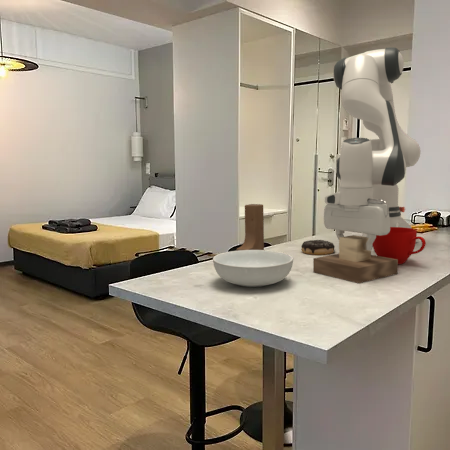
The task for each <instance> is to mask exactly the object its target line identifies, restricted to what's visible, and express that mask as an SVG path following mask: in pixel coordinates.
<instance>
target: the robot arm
mask: <svg viewBox="0 0 450 450" xmlns="http://www.w3.org/2000/svg"><path fill="white" fill-rule="evenodd" d="M404 67H405V63H404V56H403V55H402V53H401V51H400V49H398V48H397V47H393V46H391V47H385V48H380V49H373V50H367V51H365V52H362V53H358V54H355V55H352V56H349V57H344V58H341V59H339V60H337V62H336V63H335V64H334V65H333V73H332V75H333V77H332V78H333V81H334V83H335V87H337V88H338V89H339V90H341V103H342V107H343V110H344V111H346V113H347V114H349V115H350V116H351V117H353V118H355V119H357V120H361V121H362V124H363V127H364V128H365V129H366V130H368V131H370V132H372V133H374V134H375V135H376V136H377V137H378V138H375V139H369V138H367V137H352V138H347V139H345V140H343V141H342V142H341V147H340V152H339V153H340V154H339V157H338V158H337V159H336V174H335V175H336V178H337V179H339V180H340V182H339V186H338V191H336V192H334V193H332V194H329V195H326V196H325V197H324V204H326V205H324V210H323V225H324V227H325V228H326V229H328V230H334V231H335V235H336V237H337V239H338V240H339V237H345V236H344V234H345V232H351V233H357V234H362V236H363V237H367V238H368V241H367V243H364V245H363V246H364V248H363V249H364V250H368V251H370V250H371V251H372V250H373V245H372V244H373V242H374V240H375V239H376V235H380V236H381V235H387V234H388V233H389V232H390V227H403V228H411V229H413V228H412V226H411V224H409V223H408V221H406V220H405V219H404V218H403V217H402V214H401V213H405V211H406V207H405V206H399V186H398V183H400V182H402V180H403V179H404V178H405V177H406V176H405V175H406V173H407V168H410V167H413V166H415V165H416V164H417V163H418V161H419V159H420V157H421V147H420V144H419V143H418V141H417V140H416V139H414V138H412V137H410V136H409V135H408V134H407V133H406V132H405V131H404V130H403V128H402V127H401V126H400V124H399V122H398V120H397V115H396V110H395V103H394V96H393V95H394V94H393V89H392V85H393V84H394V82H395V81H396V80H399V78H400V77H401V76H402V75H403V71H404ZM391 84H392V85H391ZM419 241H420V239H416V243H419Z"/></svg>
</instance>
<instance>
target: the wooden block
mask: <svg viewBox="0 0 450 450" xmlns="http://www.w3.org/2000/svg"><path fill="white" fill-rule="evenodd" d="M264 218H265V217H264V204H260V203H257V204H256V203H251V204H245V205H244V232H245V233H244V241H243V243H242V244H241V246H239V247H237V248H236V251H240V250H265V238H264V237H265V235H264V233H265V232H264V230H265V229H264Z"/></svg>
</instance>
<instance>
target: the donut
mask: <svg viewBox="0 0 450 450" xmlns="http://www.w3.org/2000/svg"><path fill="white" fill-rule="evenodd" d="M301 252H302V253H303V254H306V255H313V256H328V255H332V254H333V253H334V252H335V245H334V243H333V242H330V241H329V240H323V239H312V240H305V241H303V242H302V244H301Z"/></svg>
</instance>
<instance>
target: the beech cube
mask: <svg viewBox="0 0 450 450" xmlns="http://www.w3.org/2000/svg"><path fill="white" fill-rule="evenodd" d="M367 241H368V238H367V237H363V235H362V236H361V235H354V234H353V235H347V236H344V237H339V239H338V254H339V259H343V260H348V261H353V262H359V261H364V260H369V259H371V255H372V250H370V251H368V250H364V249H363V248H364V246H363V245H364V243H367Z"/></svg>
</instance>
